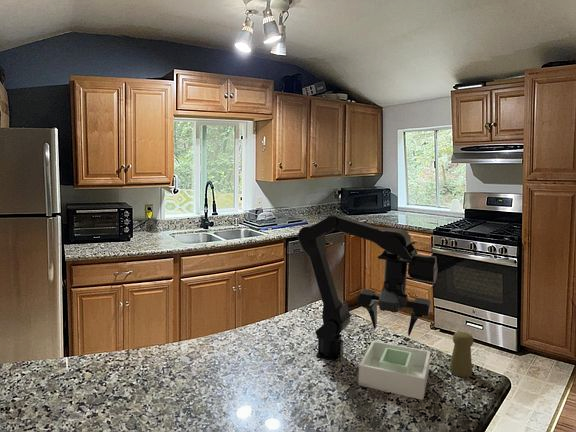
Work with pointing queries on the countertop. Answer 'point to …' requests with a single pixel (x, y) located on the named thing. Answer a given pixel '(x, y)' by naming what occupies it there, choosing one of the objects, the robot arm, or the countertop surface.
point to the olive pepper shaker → (461, 355)
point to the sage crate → (396, 360)
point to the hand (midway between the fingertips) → (391, 331)
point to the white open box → (394, 380)
